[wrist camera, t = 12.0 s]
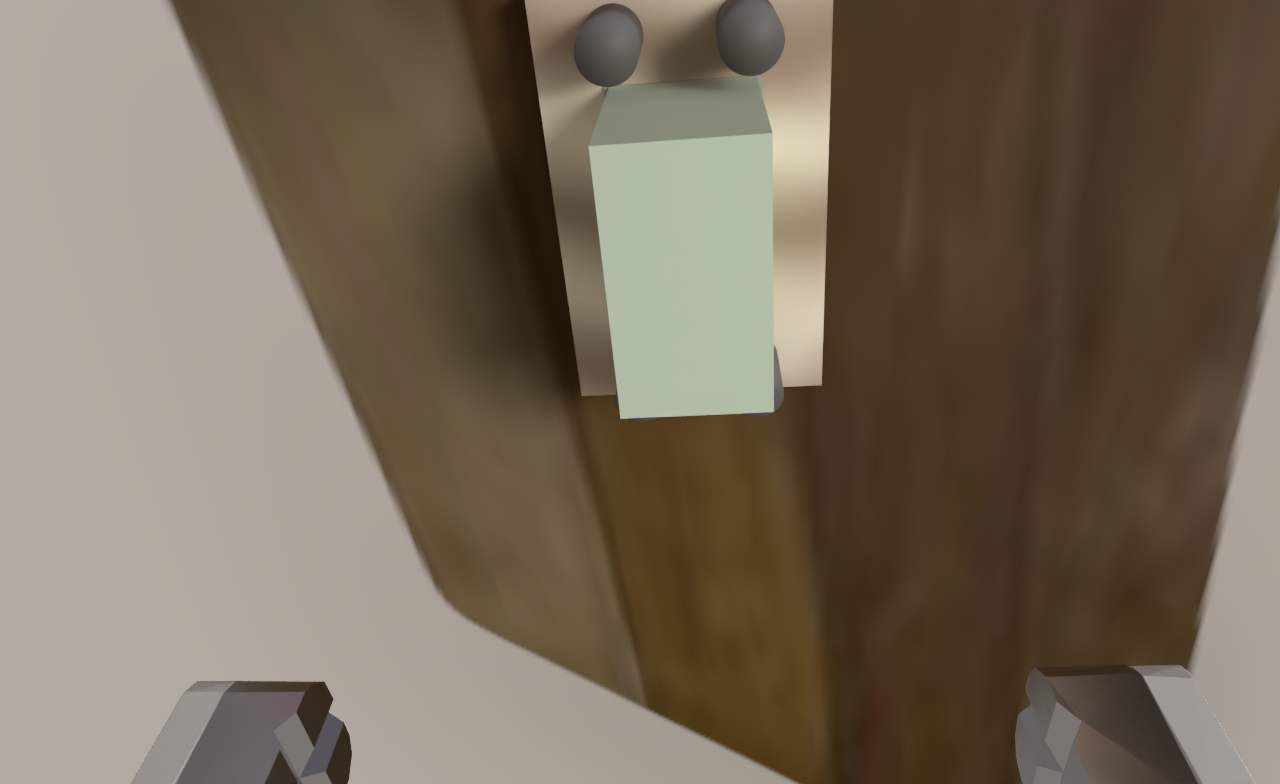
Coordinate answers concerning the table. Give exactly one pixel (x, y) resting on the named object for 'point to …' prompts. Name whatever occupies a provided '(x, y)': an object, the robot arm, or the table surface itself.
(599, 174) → the sage block
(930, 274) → the table surface
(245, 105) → the table surface
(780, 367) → the stub cradle
